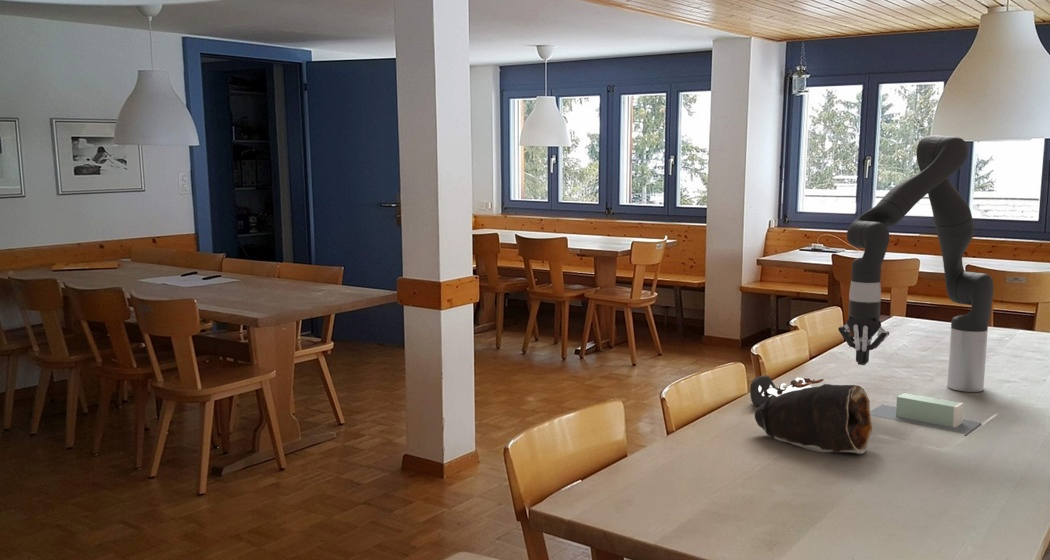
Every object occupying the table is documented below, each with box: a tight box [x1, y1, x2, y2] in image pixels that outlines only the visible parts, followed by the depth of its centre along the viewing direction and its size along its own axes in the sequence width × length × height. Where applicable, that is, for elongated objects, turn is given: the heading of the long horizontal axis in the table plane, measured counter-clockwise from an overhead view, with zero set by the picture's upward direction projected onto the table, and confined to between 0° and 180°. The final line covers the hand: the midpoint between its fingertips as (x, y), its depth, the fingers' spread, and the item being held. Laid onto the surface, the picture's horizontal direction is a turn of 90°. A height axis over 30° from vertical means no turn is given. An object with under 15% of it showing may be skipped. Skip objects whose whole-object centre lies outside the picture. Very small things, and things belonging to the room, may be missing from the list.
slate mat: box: [870, 404, 983, 437], centre depth 215 cm, size 12×24×1 cm, turn 47°
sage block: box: [895, 392, 964, 428], centre depth 213 cm, size 5×5×14 cm
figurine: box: [749, 374, 825, 408], centre depth 226 cm, size 14×10×18 cm
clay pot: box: [754, 383, 873, 455], centre depth 197 cm, size 15×15×25 cm
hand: (861, 364), depth 225 cm, fingers closed
